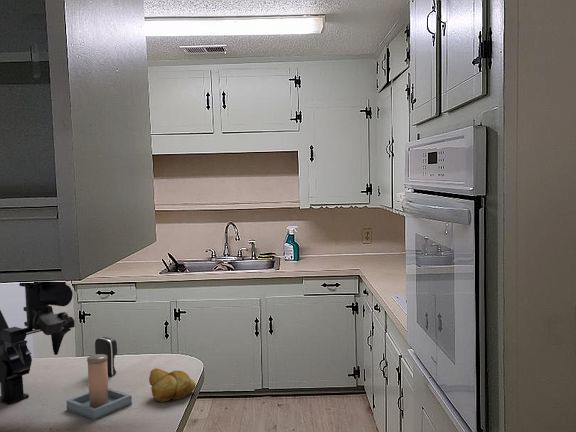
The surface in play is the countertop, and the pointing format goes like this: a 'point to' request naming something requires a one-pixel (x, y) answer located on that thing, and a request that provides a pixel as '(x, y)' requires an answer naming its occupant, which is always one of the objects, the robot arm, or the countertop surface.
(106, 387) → the jar
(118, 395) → the tray
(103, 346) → the battery charger
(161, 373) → the bread roll
